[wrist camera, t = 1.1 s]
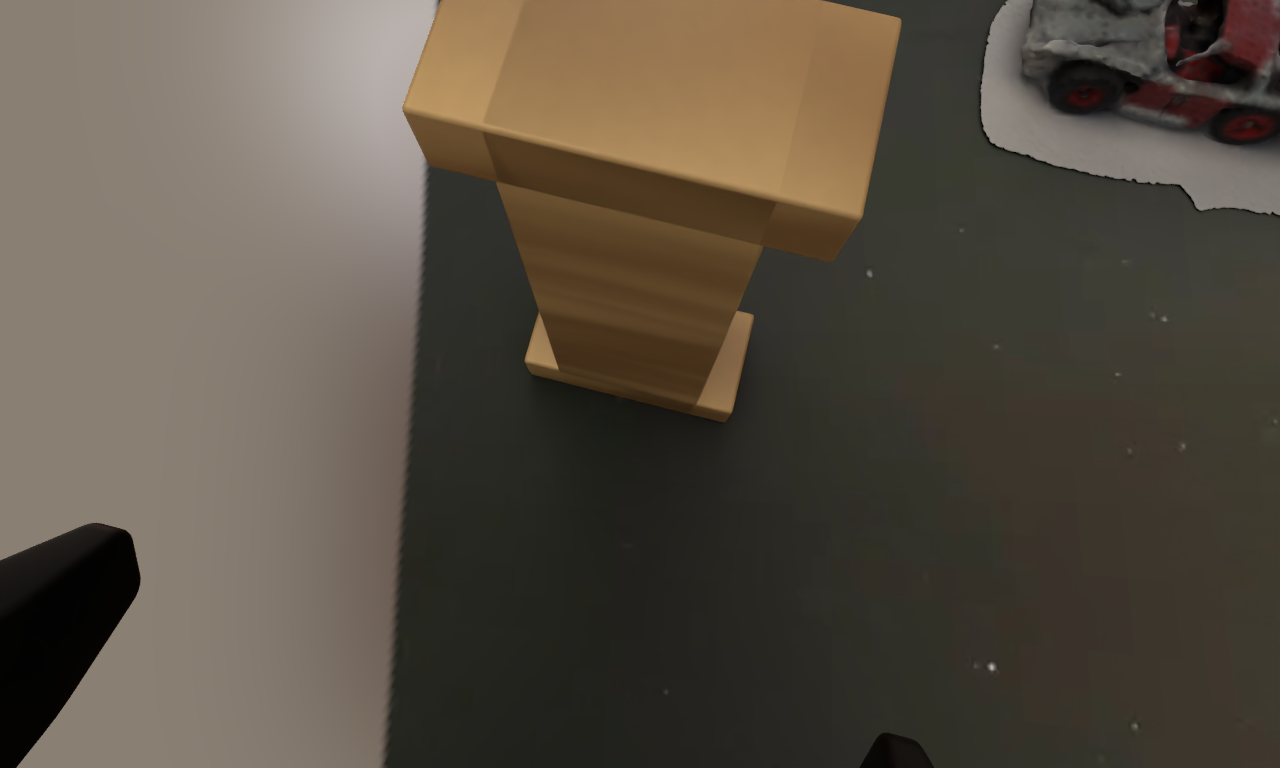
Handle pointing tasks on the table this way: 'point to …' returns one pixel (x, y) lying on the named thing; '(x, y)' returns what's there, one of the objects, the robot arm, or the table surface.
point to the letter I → (656, 166)
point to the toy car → (1143, 92)
